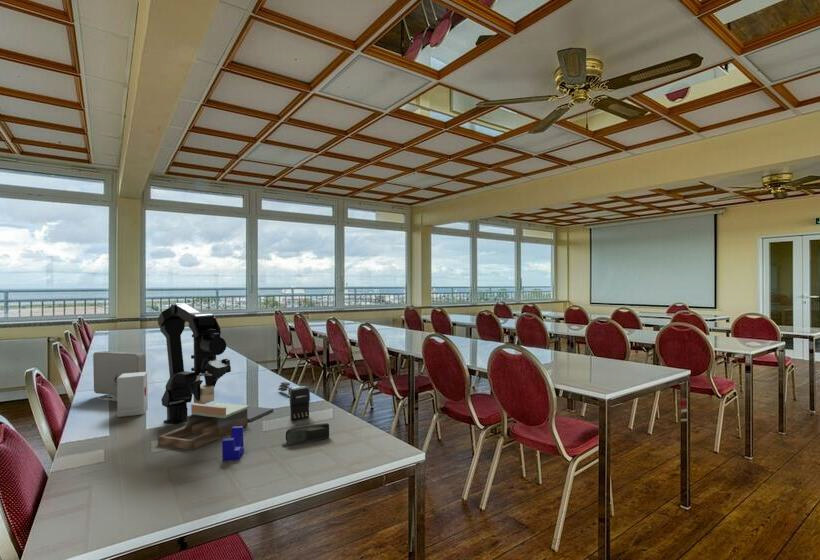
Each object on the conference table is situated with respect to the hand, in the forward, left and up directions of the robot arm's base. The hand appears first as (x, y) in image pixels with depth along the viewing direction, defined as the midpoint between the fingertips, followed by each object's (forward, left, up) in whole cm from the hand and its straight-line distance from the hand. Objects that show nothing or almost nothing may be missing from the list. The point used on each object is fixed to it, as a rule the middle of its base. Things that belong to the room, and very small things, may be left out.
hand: (203, 398), depth 148 cm
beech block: (0, 0, -1) cm, 1 cm away
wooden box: (0, 0, -12) cm, 12 cm away
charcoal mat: (-1, +21, -12) cm, 24 cm away
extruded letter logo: (+1, +48, -12) cm, 49 cm away
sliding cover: (0, +7, -6) cm, 9 cm away
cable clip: (+22, -9, -12) cm, 26 cm away
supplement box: (-46, +9, -12) cm, 48 cm away
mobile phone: (+36, +5, -12) cm, 39 cm away
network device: (-72, +24, -12) cm, 77 cm away
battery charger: (+21, +23, -12) cm, 34 cm away
